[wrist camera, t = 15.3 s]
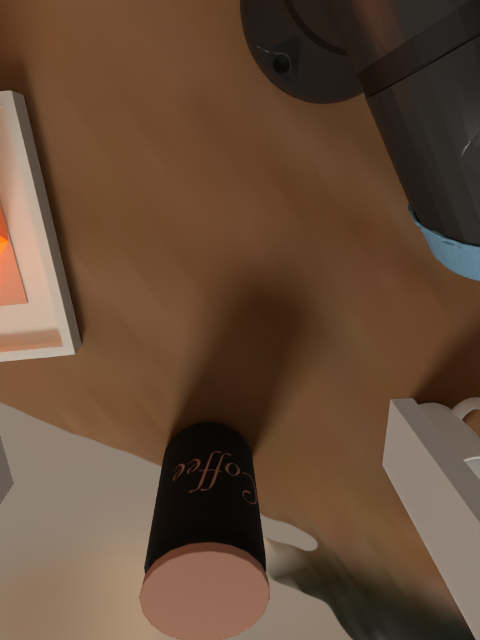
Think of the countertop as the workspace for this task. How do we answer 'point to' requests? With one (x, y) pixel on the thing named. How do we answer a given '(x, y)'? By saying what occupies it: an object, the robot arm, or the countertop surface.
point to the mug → (457, 429)
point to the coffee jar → (205, 539)
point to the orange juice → (2, 243)
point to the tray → (29, 250)
